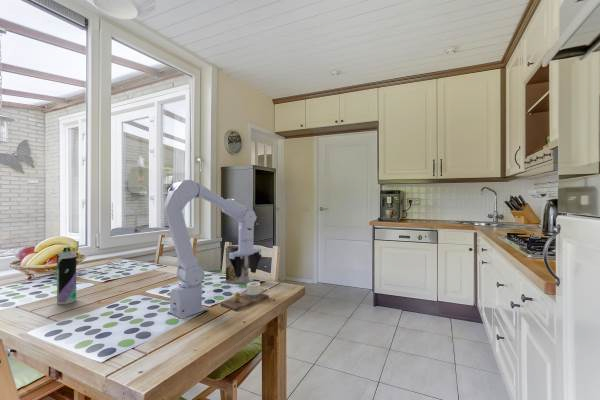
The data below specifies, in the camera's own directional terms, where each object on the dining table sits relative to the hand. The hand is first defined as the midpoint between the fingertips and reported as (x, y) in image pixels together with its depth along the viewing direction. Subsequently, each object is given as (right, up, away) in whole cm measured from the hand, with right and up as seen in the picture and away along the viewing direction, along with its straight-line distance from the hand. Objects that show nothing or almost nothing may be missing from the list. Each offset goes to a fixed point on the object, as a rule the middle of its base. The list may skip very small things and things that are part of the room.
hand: (245, 274), depth 108 cm
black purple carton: (-65, -9, -5) cm, 66 cm away
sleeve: (+3, -8, -2) cm, 9 cm away
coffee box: (-8, -9, +20) cm, 23 cm away
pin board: (+1, -9, -5) cm, 10 cm away
